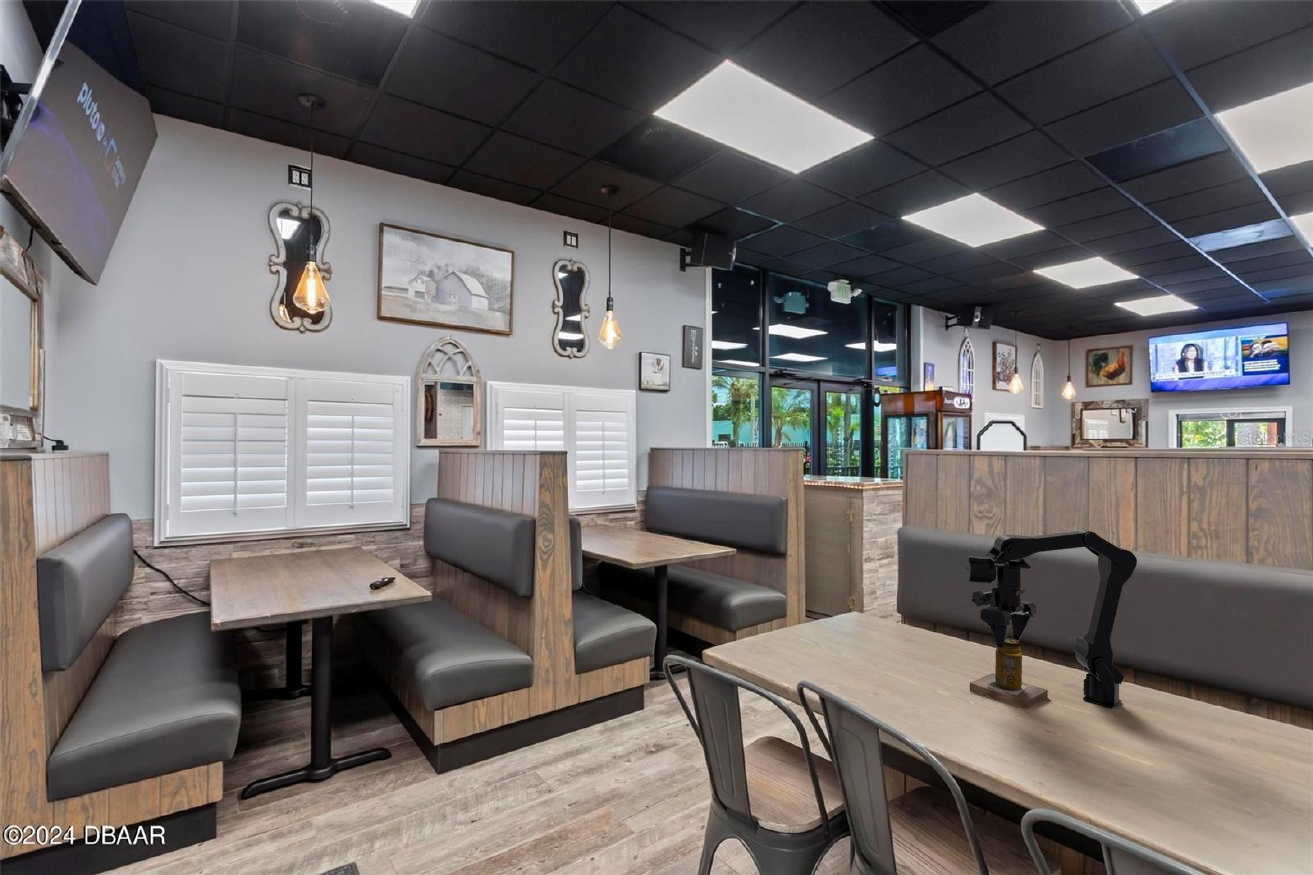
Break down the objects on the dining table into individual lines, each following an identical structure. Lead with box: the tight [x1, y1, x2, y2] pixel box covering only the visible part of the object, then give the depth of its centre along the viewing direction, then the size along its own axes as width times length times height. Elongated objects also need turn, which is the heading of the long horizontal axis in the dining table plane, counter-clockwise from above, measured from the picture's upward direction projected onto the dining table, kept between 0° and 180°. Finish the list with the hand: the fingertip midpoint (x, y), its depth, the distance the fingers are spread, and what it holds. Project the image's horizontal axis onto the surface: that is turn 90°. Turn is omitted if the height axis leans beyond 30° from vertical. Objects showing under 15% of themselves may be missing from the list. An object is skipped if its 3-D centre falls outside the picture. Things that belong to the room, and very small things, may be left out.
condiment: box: [987, 637, 1027, 695], centre depth 161 cm, size 7×8×12 cm
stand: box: [969, 672, 1049, 710], centre depth 162 cm, size 14×12×2 cm
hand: (1008, 644), depth 162 cm, fingers open, 9 cm apart
